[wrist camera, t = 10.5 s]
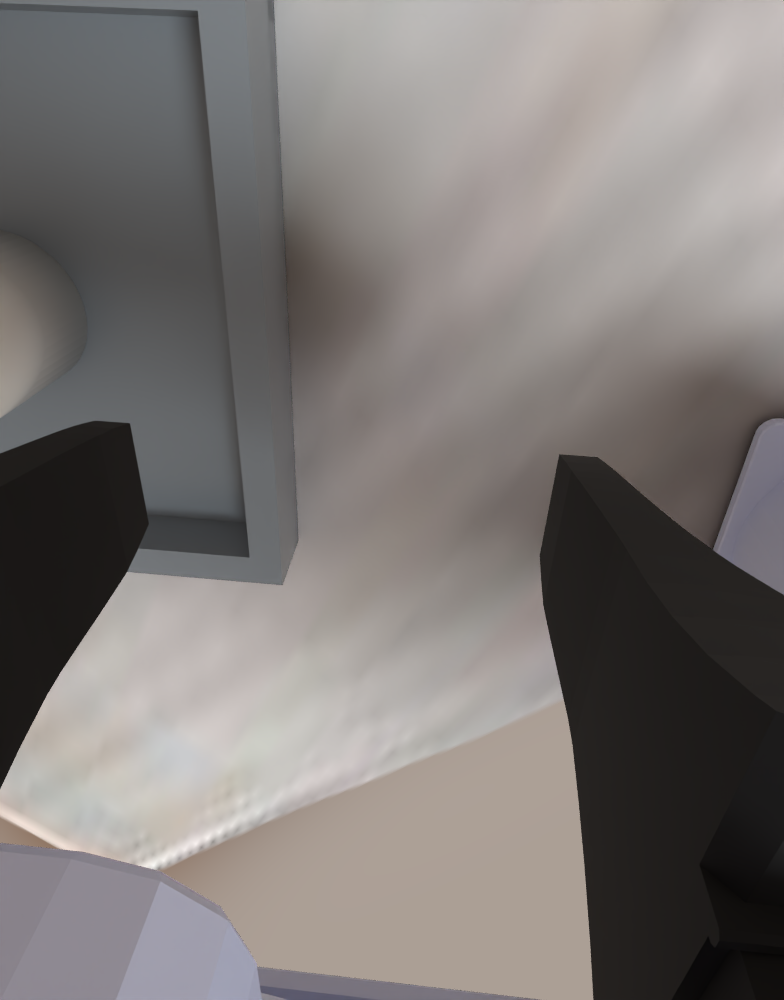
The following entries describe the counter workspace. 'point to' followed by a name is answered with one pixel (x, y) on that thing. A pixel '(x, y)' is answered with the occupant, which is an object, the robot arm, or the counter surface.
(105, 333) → the tray
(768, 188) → the counter surface
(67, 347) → the shaker
